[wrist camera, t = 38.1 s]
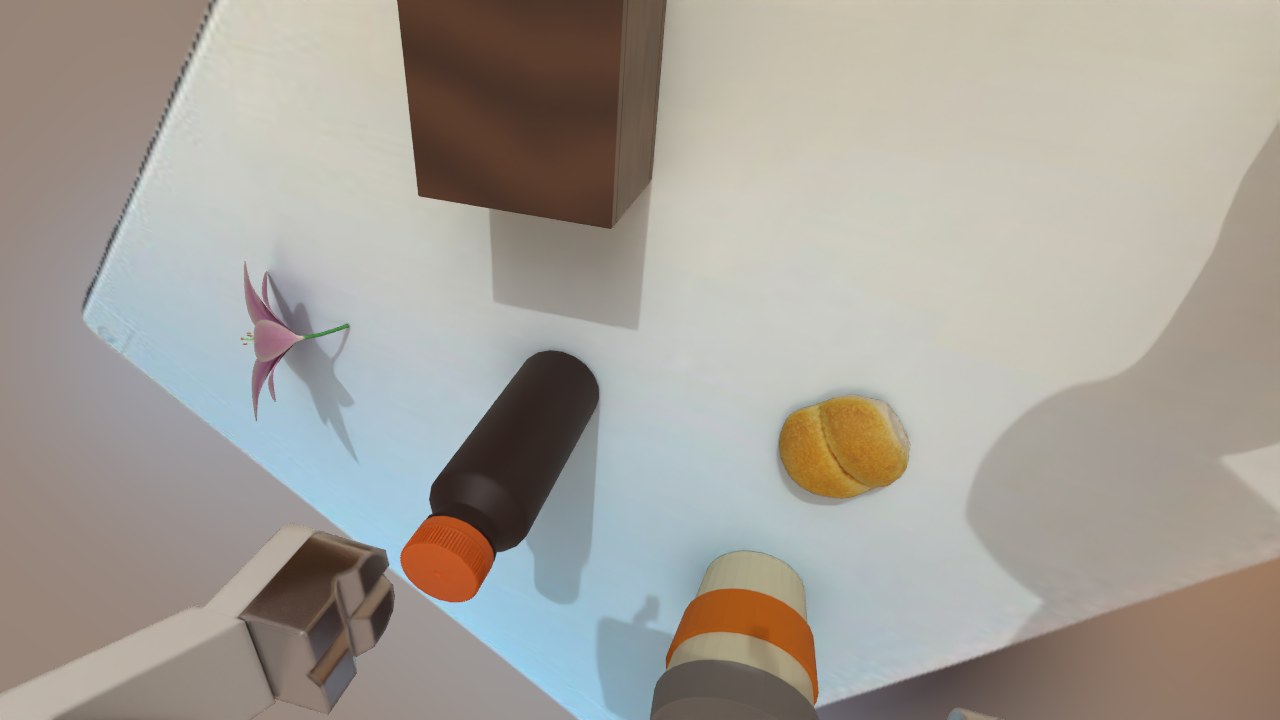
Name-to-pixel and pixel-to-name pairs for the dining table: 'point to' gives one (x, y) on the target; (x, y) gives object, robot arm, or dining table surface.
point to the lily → (268, 338)
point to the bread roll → (844, 446)
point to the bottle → (501, 476)
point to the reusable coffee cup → (741, 647)
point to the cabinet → (534, 103)
